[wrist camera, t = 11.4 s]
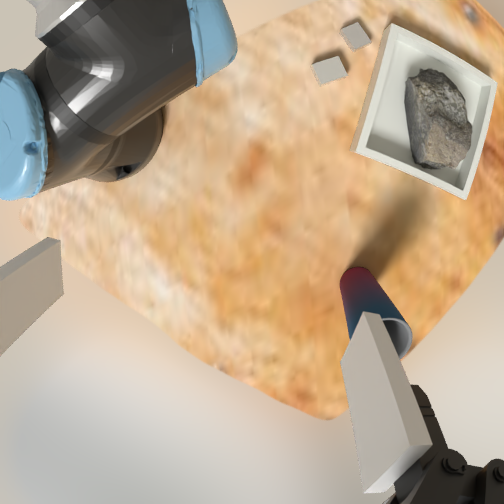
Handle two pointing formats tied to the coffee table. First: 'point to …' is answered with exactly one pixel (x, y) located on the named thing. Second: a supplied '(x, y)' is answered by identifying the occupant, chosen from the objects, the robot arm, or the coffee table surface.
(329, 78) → the grey small block
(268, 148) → the coffee table surface
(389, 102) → the bin
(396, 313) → the cup
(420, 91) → the rock
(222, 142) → the coffee table surface
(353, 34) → the chip
